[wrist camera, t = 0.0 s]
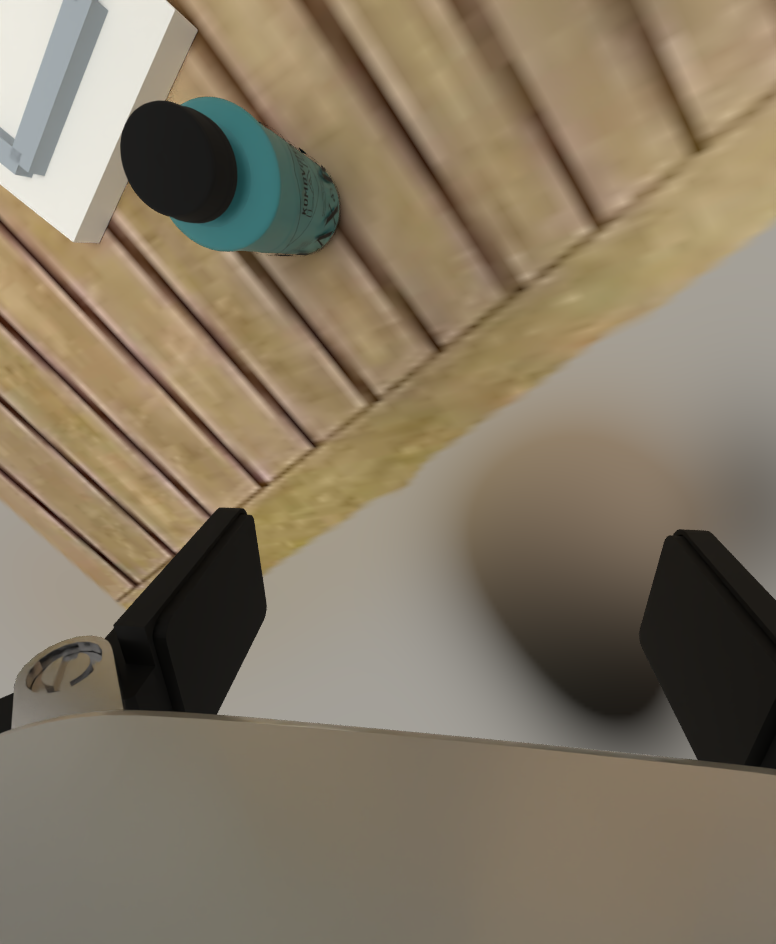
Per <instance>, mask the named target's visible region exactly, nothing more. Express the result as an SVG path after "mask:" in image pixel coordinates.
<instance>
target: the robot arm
mask: <svg viewBox="0 0 776 944" xmlns="http://www.w3.org/2000/svg"><path fill="white" fill-rule="evenodd" d="M266 607H267V605H266V597H265V591H264V584H263V577H262V570H261V564H260V557H259V550H258V543H257V537H256V530H255V523H254V518H253V516H252V515H247V513H246V511H245V510H244V509H242V508H218V509H217V510H216V511H215V512H214V513H213V514H212V516H211V517H210V518H209V519H208V520H207V521H206V522H205V523H204V524H203V526H202V527H201V528H200V529H199V530H198V531H197V532H196V533H195V535H194V536H193V537H192V538H191V539H190V540H189V541H188V542H187V543H186V545H185V546H184V547H183V548H182V549H181V550H180V551H179V552H178V553H177V555H176V556H175V557H174V558H173V559H172V560H171V561H170V562H169V564H168V565H167V566H166V567H165V568H164V569H163V570H162V571H161V572H160V574H159V575H158V576H157V577H156V578H155V579H154V580H153V581H152V582H151V584H150V585H149V586H148V587H147V588H146V589H145V590H144V591H143V593H142V594H141V595H140V596H139V597H138V598H137V599H136V600H135V601H134V603H133V604H132V605H131V606H130V607H129V608H128V609H127V610H126V612H125V613H124V614H123V615H122V616H121V617H120V618H119V619H118V621H117V622H116V623H115V624H114V629H113V630H112V631H111V632H110V633H109V634H108V635H107V637H106V638H105V639H103V638H102V637H97V636H79V637H75V638H72V639H67V640H64V641H61V642H59V643H57V644H55V645H52V646H50V647H48V648H47V649H45V650H44V651H42V652H40V653H39V654H37V655H36V656H35V657H34V658H32V659H31V660H30V661H29V662H28V663H27V664H26V665H25V666H24V667H23V668H22V670H21V671H20V672H19V674H18V675H17V678H16V681H15V684H14V693H12V694H10V695H8V696H5V697H3V698H1V699H0V944H776V600H775V599H774V598H773V597H772V596H771V595H770V594H769V593H768V592H767V591H766V590H765V589H764V588H763V586H762V585H761V584H760V583H759V582H758V581H757V580H756V579H755V578H754V577H753V576H752V575H751V574H750V573H749V572H748V571H747V570H746V569H745V568H744V567H743V566H742V565H741V563H740V562H739V561H738V560H737V559H736V558H735V557H734V556H733V555H732V554H731V553H730V552H729V551H728V550H727V549H726V548H725V547H724V546H723V545H722V543H721V542H720V541H719V540H718V539H717V538H716V537H715V536H714V535H713V534H712V533H710V532H709V531H700V530H681V529H679V530H677V531H676V532H675V533H674V535H673V536H668V537H667V538H666V539H665V541H664V545H663V548H662V552H661V555H660V559H659V563H658V566H657V570H656V573H655V577H654V580H653V584H652V588H651V591H650V595H649V598H648V602H647V606H646V609H645V613H644V617H643V620H642V623H641V627H640V632H639V637H640V644H641V646H642V649H643V651H644V653H645V655H646V657H647V659H648V661H649V663H650V665H651V667H652V669H653V671H654V673H655V675H656V677H657V679H658V681H659V683H660V685H661V687H662V689H663V691H664V693H665V695H666V697H667V699H668V701H669V703H670V705H671V707H672V709H673V711H674V713H675V715H676V717H677V719H678V721H679V723H680V725H681V727H682V729H683V731H684V733H685V735H686V737H687V739H688V741H689V743H690V745H691V747H692V749H693V751H694V753H695V755H696V757H697V759H698V760H692V759H683V758H673V757H663V756H653V755H643V754H633V753H623V752H614V751H603V750H594V749H584V748H574V747H564V746H554V745H544V744H533V743H524V742H523V743H522V742H514V741H503V740H493V739H482V738H472V737H461V736H451V735H440V734H430V733H419V732H408V731H398V730H388V729H376V728H365V727H355V726H342V725H332V724H320V723H310V722H309V723H308V722H299V721H287V720H276V719H265V718H254V717H241V716H228V715H217V713H218V711H219V709H220V707H221V705H222V703H223V701H224V699H225V697H226V695H227V693H228V691H229V689H230V687H231V685H232V683H233V681H234V679H235V677H236V675H237V673H238V671H239V669H240V667H241V665H242V663H243V661H244V659H245V657H246V655H247V653H248V651H249V649H250V647H251V645H252V642H253V641H254V638H255V637H256V635H257V633H258V631H259V629H260V627H261V625H262V623H263V621H264V618H265V614H266Z"/></svg>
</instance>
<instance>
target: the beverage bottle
mask: <svg viewBox="0 0 776 944" xmlns="http://www.w3.org/2000/svg"><path fill="white" fill-rule="evenodd" d="M264 125H265V123H264ZM266 126H267V125H266ZM272 129H273V128H272ZM292 144H293V143H292ZM292 144H289V143H287V142H286V141H285V140H284V138H283V139H282V138H280V137H279V136H278V135H276V134H275V133H274V132H272V131H271V130H269V129H267V128H265V127H264V126H263V125H261V124H260V122H258V121H257V120H256V119H255V118H254V117H253V116H252V115H251V114H249V113H248V112H247V111H245V110H244V109H243V108H241V107H239V106H238V105H236V104H234V103H232V102H230V101H227V100H224V99H221V98H216V97H199V98H195V99H192V100H189V101H187V102H185V103H183V104H181V105H179V104H176V103H173V102H169V101H161V100H158V101H152V102H148V103H145V104H143V105H141V106H140V107H138V108H137V109H136V110H134V112H133V113H132V114H131V115H130V116H129V118H128V119H127V121H126V123H125V125H124V128H123V131H122V135H121V141H120V154H121V161H122V165H123V169H124V172H125V175H126V177H127V179H128V181H129V183H130V185H131V187H132V188H133V190H134V191H135V193H136V194H137V195H138V196H139V198H140V199H141V200H142V201H143V202H144V203H146V204H147V205H148V206H149V207H150V208H152V209H153V210H155V211H157V212H159V213H161V214H163V215H166V216H169V217H170V218H171V220H172V221H173V222H174V223H175V225H176V226H177V227H178V228H179V229H180V230H181V231H182V232H183V233H184V234H185V235H186V236H187V237H189V238H190V239H191V240H193V241H194V242H196V243H197V244H199V245H201V246H203V247H206V248H209V249H212V250H217V251H227V252H230V251H255V252H261V253H277V254H278V253H284V254H291V255H292V254H293V255H294V254H296V255H304V256H305V255H308V254H311V252H314V251H316V252H317V250H318V249H320V248H321V247H322V246H323V247H324V245H325V244H327V243H328V241H329V239H331V237H332V235H333V233H334V231H335V230H336V227H337V224H338V220H339V221H340V219H339V210H340V208H339V207H341V204H340V206H339V200H338V199H339V198H340V196H339V197H338V195H337V193H339V192H337V191H336V188H335V187H337V186H334V184H335V183H334V184H333V182H332V180H331V178H330V177H329V176H328V174H327V173H326V172H327V171H326V172H325V169H324V168H323V166H322V165H321V167H322V168H321V167H320V166H319V165H318V164H317V163H316V162H315V161H314V162H313V161H312V160H310V159H309V158H308V157H306V156H305V155H304V154H306V152H304V151H303V150H302V149H300V148H299V149H300V151H301V152H300V151H298V150H297V148H294V146H295V145H294V144H293V145H294V146H292ZM302 153H304V154H302ZM308 156H309V155H308ZM309 157H310V156H309ZM311 158H312V157H311ZM313 159H314V158H313ZM329 174H330V173H329ZM340 214H341V210H340ZM338 225H339V224H338ZM337 228H338V227H337ZM335 233H336V232H335ZM330 241H331V240H330ZM323 247H322V248H323ZM322 248H321V250H322ZM312 254H313V253H312ZM314 254H315V253H314ZM291 255H290V256H291ZM270 256H271V255H270ZM276 256H277V255H276ZM278 256H289V255H282V254H281V255H278Z"/></svg>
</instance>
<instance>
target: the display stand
mask: <svg viewBox="0 0 776 944" xmlns="http://www.w3.org/2000/svg"><path fill="white" fill-rule="evenodd" d="M197 31H198V30H197V29H196V28H195V27H194V26H193V25H192V24H191V23H190V22H189V21H188V20H187V19H186V18H185V17H184V16H183V15H182V14H181V13H179V12H178V11H177V10H176V9H175V8H174V7H173V6H172V5H171V4H170V3H169V2H168V1H167V0H0V184H1V185H2V186H3V187H4V188H6V189H7V190H8V191H9V192H11V193H12V194H13V195H14V196H16V197H17V198H18V199H19V200H21V201H22V202H23V203H24V204H26V205H27V206H28V207H29V208H31V209H32V210H33V211H35V212H36V213H37V214H38V215H40V216H41V217H42V218H43V219H45V220H46V221H47V222H48V223H50V224H51V225H52V226H53V227H55V228H56V229H57V230H58V231H60V232H61V233H62V234H64V235H65V236H66V237H67V238H69V239H70V240H71V241H72V242H81V243H100V240H101V238H102V236H103V234H104V232H105V230H106V227H107V225H108V223H109V221H110V219H111V217H112V215H113V212H114V210H115V208H116V206H117V204H118V202H119V199H120V197H121V195H122V193H123V191H124V189H125V186H126V184H127V182H128V179H127V177H126V175H125V172H124V169H123V165H122V161H121V154H120V141H121V135H122V131H123V128H124V125H125V123H126V121H127V119H128V118H129V116H130V115H131V114H132V113H133V112H134V110H136V109H137V108H138V107H140V106H141V105H143V104H145V103H148V102H152V101H158V100H161V101H165V100H166V98H167V96H168V94H169V92H170V89H171V87H172V85H173V83H174V81H175V79H176V76H177V74H178V72H179V70H180V68H181V66H182V64H183V61H184V59H185V57H186V55H187V53H188V51H189V48H190V46H191V44H192V42H193V40H194V38H195V36H196V33H197Z"/></svg>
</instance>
